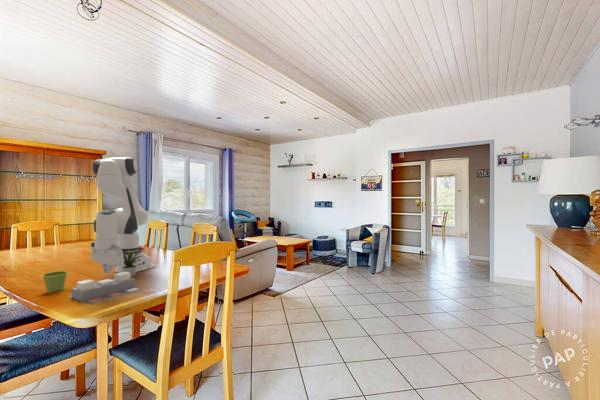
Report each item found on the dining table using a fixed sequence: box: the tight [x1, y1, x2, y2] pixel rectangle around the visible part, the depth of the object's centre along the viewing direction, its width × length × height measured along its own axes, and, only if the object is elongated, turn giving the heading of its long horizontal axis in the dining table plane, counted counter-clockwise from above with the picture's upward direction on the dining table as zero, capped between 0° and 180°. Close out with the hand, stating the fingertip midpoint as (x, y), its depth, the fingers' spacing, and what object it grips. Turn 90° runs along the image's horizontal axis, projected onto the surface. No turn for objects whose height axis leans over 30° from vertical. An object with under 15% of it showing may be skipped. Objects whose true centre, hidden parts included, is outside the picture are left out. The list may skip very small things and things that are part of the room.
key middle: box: [96, 278, 114, 286], centre depth 133 cm, size 5×5×5 cm
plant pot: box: [41, 270, 69, 294], centre depth 135 cm, size 9×9×9 cm
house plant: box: [122, 250, 142, 277], centre depth 159 cm, size 14×14×16 cm
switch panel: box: [67, 277, 145, 306], centre depth 132 cm, size 23×20×5 cm
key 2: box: [114, 272, 132, 282], centre depth 140 cm, size 5×5×5 cm
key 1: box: [76, 278, 96, 291], centre depth 126 cm, size 5×5×5 cm
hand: (107, 272), depth 133 cm, fingers closed
